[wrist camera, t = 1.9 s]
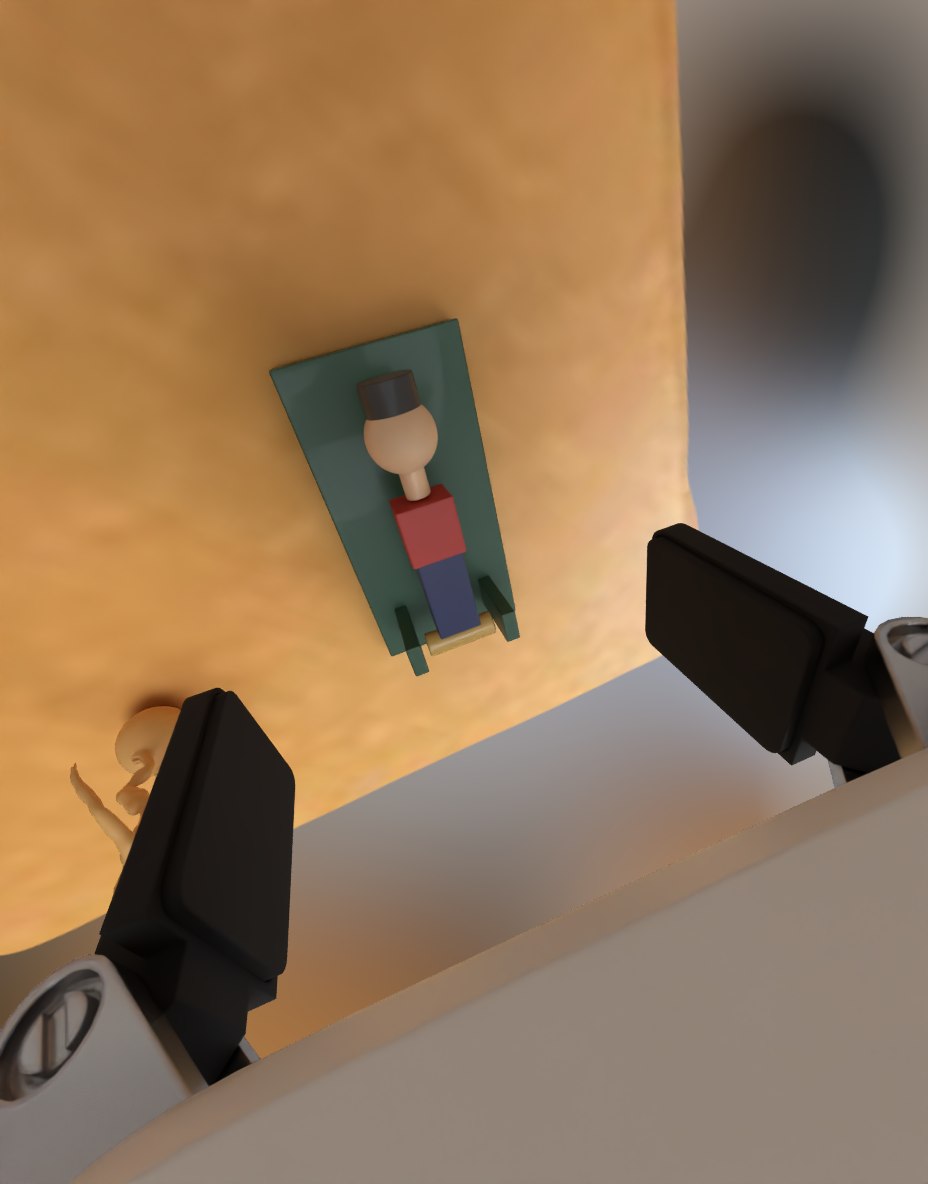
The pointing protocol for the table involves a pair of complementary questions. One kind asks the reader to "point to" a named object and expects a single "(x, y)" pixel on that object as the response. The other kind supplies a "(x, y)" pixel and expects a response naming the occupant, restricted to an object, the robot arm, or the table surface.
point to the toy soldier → (422, 507)
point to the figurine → (132, 771)
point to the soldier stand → (363, 489)
